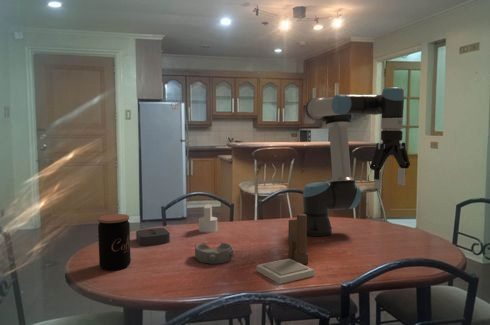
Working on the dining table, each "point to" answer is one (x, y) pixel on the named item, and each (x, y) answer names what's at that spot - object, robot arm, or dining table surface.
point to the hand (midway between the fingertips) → (389, 186)
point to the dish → (213, 253)
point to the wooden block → (298, 239)
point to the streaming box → (152, 236)
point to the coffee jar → (114, 242)
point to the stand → (285, 270)
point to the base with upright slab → (208, 221)
